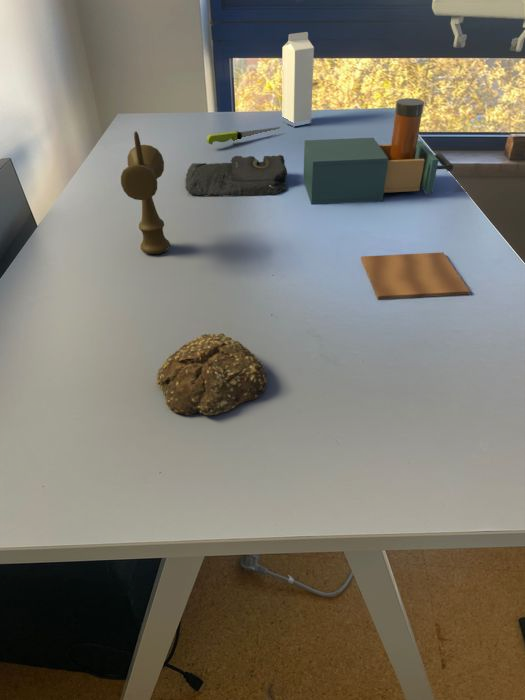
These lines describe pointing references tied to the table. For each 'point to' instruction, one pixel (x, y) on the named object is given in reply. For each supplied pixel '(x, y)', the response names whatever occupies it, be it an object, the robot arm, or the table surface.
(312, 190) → the cabinet
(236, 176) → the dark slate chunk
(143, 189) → the kendama
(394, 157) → the spice jar
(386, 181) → the drawer
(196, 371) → the bread roll
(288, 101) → the milk
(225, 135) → the kitchen knife
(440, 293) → the wooden board
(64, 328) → the table surface
